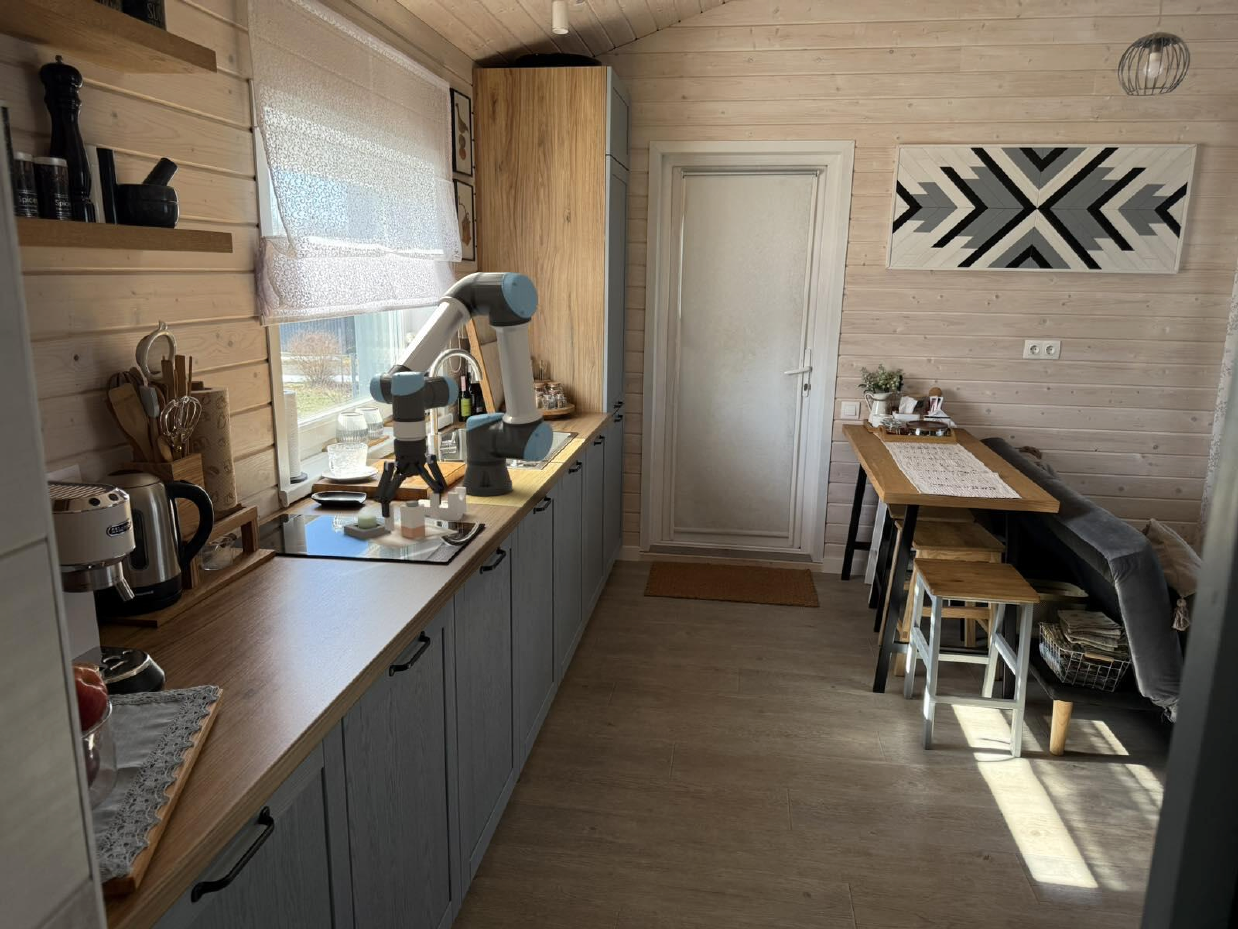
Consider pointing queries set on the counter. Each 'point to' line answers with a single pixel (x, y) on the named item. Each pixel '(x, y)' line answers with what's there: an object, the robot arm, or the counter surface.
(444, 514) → the bracket
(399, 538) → the cloth
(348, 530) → the button housing
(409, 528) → the white tall block
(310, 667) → the counter surface
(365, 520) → the button
